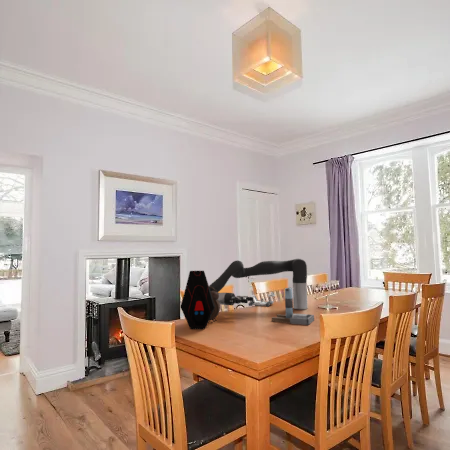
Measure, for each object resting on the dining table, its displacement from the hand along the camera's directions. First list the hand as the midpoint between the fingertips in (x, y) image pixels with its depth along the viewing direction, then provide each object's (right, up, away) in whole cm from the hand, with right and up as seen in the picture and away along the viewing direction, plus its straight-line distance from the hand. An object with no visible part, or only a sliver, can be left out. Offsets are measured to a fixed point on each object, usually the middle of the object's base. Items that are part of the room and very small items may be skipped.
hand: (250, 300), depth 203 cm
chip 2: (+28, -9, -15) cm, 33 cm away
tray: (+28, -9, -15) cm, 33 cm away
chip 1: (+25, -9, -14) cm, 30 cm away
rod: (+21, -9, -12) cm, 26 cm away
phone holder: (+12, -14, +43) cm, 46 cm away
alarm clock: (-25, -10, -10) cm, 29 cm away
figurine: (-29, -9, -24) cm, 39 cm away
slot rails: (+18, -9, -10) cm, 23 cm away
